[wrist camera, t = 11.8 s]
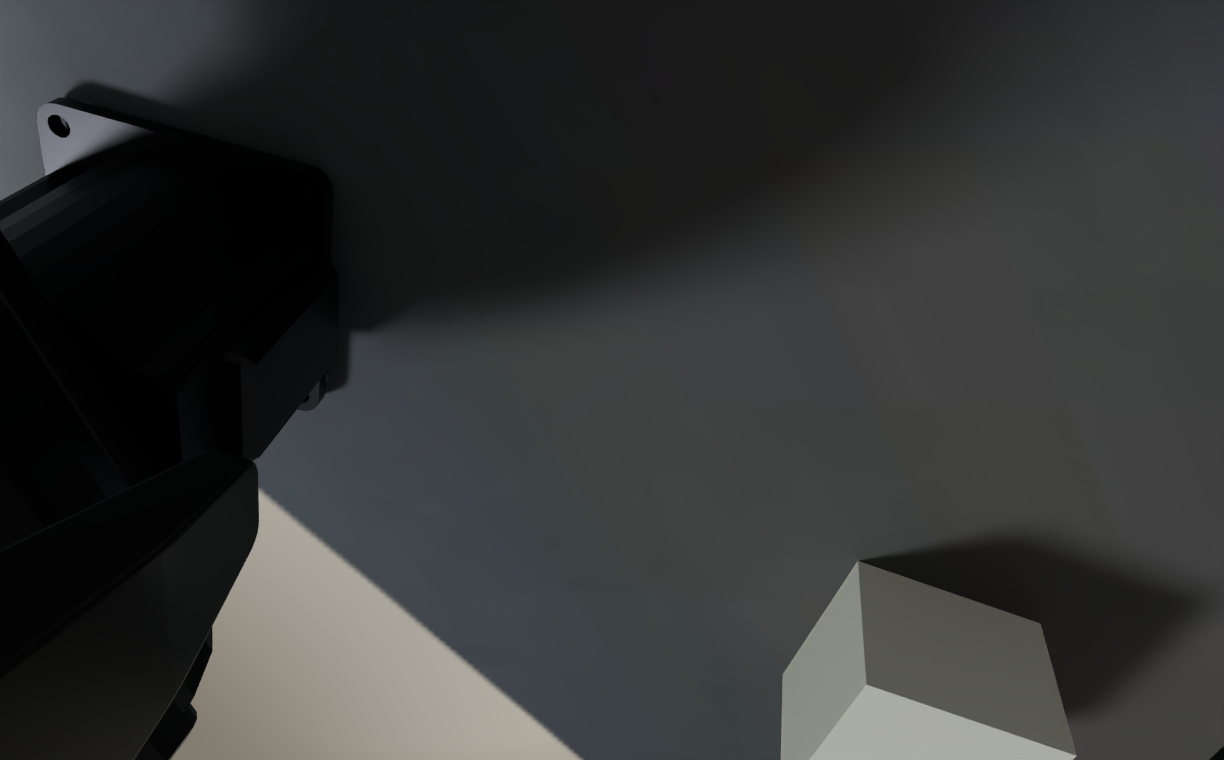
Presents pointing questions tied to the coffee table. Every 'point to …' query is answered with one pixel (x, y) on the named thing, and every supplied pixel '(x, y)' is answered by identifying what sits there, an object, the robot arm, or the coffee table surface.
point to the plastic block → (920, 679)
